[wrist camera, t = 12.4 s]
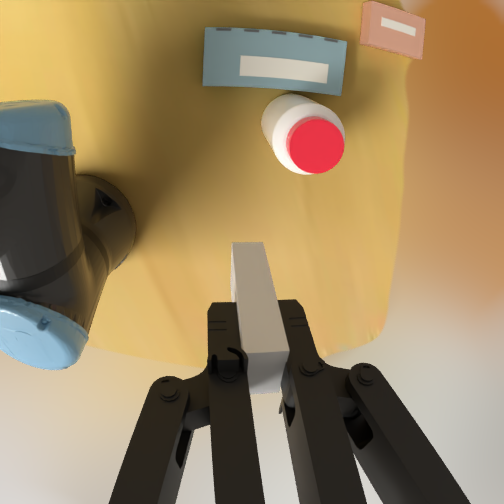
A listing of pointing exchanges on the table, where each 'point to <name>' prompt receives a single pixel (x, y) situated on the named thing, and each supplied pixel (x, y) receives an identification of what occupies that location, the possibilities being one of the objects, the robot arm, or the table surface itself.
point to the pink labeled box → (392, 30)
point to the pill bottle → (303, 134)
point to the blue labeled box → (273, 60)
